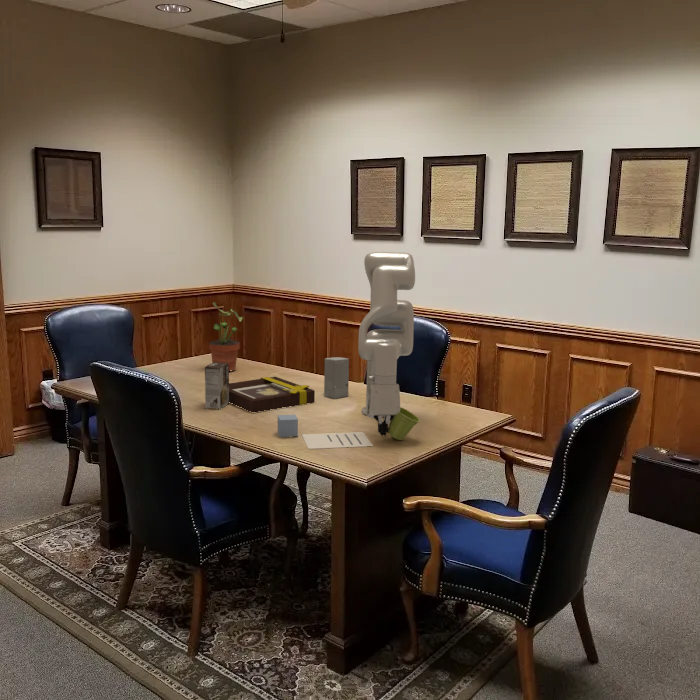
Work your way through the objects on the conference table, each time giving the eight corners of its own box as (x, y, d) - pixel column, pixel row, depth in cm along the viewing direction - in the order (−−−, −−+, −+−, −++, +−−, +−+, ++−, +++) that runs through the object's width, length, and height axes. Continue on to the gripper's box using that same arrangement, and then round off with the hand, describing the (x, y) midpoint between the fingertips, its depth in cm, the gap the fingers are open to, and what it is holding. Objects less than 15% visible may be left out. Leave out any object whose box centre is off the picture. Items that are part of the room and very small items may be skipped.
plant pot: (382, 425, 242) (395, 403, 240) (407, 438, 242) (419, 416, 240) (381, 432, 233) (394, 410, 231) (406, 446, 233) (420, 424, 231)
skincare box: (333, 399, 288) (334, 360, 285) (322, 395, 293) (323, 357, 290) (349, 396, 293) (350, 358, 290) (338, 392, 298) (339, 355, 296)
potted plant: (226, 375, 325) (226, 298, 318) (202, 371, 333) (201, 295, 326) (249, 370, 338) (249, 295, 331) (225, 365, 346) (225, 293, 339)
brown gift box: (275, 373, 303) (316, 387, 280) (275, 388, 304) (316, 404, 281) (215, 382, 286) (254, 398, 263) (215, 398, 287) (254, 415, 264)
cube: (277, 432, 243) (277, 415, 242) (295, 431, 244) (295, 414, 243) (279, 437, 237) (279, 420, 236) (297, 436, 238) (297, 419, 237)
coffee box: (213, 402, 278) (213, 361, 275) (229, 403, 277) (229, 362, 274) (204, 408, 270) (204, 366, 267) (220, 409, 268) (220, 367, 265)
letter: (301, 435, 240) (301, 434, 240) (362, 432, 244) (362, 431, 244) (308, 449, 226) (308, 448, 226) (373, 446, 230) (373, 445, 230)
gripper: (364, 382, 228) (363, 438, 231) (409, 381, 231) (407, 437, 234) (359, 377, 235) (358, 432, 238) (403, 377, 238) (401, 431, 241)
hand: (382, 434), depth 236 cm, fingers closed
